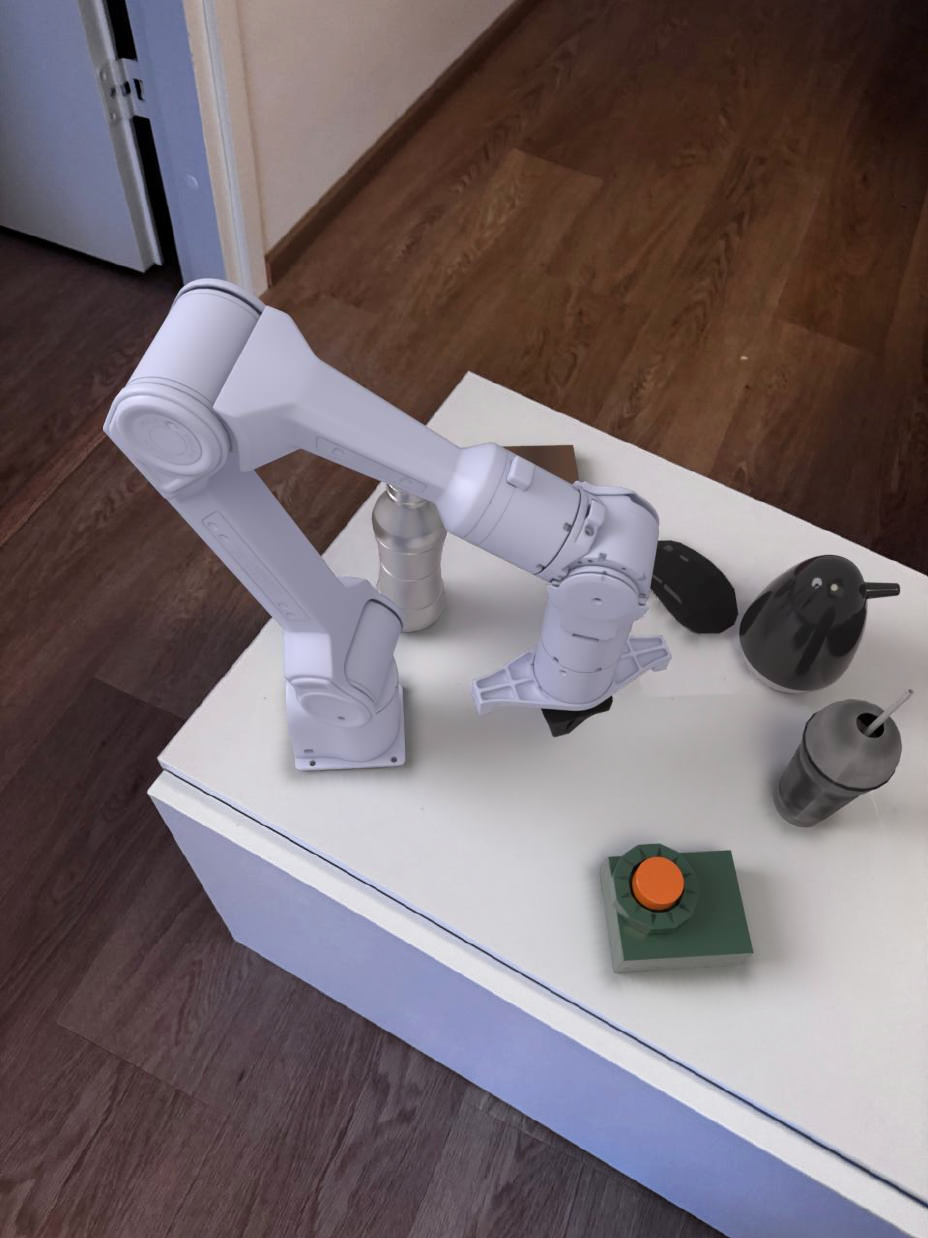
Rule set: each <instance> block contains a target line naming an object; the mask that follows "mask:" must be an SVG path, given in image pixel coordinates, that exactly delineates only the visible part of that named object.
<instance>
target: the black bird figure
mask: <svg viewBox="0 0 928 1238" xmlns="http://www.w3.org/2000/svg"><path fill="white" fill-rule="evenodd" d="M858 567H859V566H857V565H856V564H855V563H854V562H853V561H852V560H850V559H848V558H846V557H845V556H841V555H838V554H821V555H820V554H819V555H816V556H812V557H809V558H807V559H804V560H802V561H800V562H798V563H796V564H794V565H793V566H791V567H790V568H787V569H786V570H785V571H783V572H782V573H781V574H779V575H778V576H776V577H775V578H774V579H773V580H771V581H770V582H769V583H768V584H767V585H766V586H765V587H763V589H762V590H761V591H760V592H759V593H758V594H757V595H756V597H755V598H754V599H753V600H752V601H751V602H750V604H749V605H748V607H747V608H746V610H745V612H744V614H743V615H742V618H741V620H740V624H739V629H738V639H739V644H740V649H741V655H742V657H743V661H744V662H745V664H746V666H747V668H748V670H750V673H752V674H753V676H755V678H756V679H757V680H759V682H761V683H763V684H764V685H766V687H769V688H770V689H773V690H776V691H779V692H782V693H786V694H805V693H806V694H807V693H811V692H814V691H818V690H822V689H825V688H827V687H830V686H832V685H834V684H835V683H837V681H839V680H840V679H841V678H842V677H843V676H844V674H845V673H846V672H847V671H848V669H849V667H850V666H851V664H852V663H853V661H854V660H855V659H854V658H855V657H856V654H857V653H858V650H859V648H860V645H861V643H862V640H863V637H864V633H865V631H866V625H867V619H868V612H869V611H868V610H869V601H868V600H871V599H882V598H889V597H891V598H892V597H897V596H899V595H900V594H901V585H900V584H899V583H898V582H878V581H876V582H875V581H865V578H864V576H863V574H862V572H861V570H860V569H859V568H858Z"/></svg>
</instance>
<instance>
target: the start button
mask: <svg viewBox="0 0 928 1238" xmlns="http://www.w3.org/2000/svg"><path fill="white" fill-rule="evenodd" d="M632 888H633V892H634V895H635V897H636V898H637V900H638V901H639V902H640V903H641V904H642V905H644V906H645V907H647V908H649V909H653V910H664V909H667V908H669V907H670V906H672V905H673V904H674V903H675V902H676V900H677V899H678V898H679V897H680V895H681V893H682V891H683V888H684V879H683V875H682V873H681V871H680V869H679V868H678V867H677V866H676V865H675V864H674V863H673V862H672V861H670V860H668V859H666V858H663V857H652V858H649V859H647V860H645V861H644V862H642V863H641V865H640V866H639V868H638V869H637V871H636V872H635V874H634V876H633V880H632Z"/></svg>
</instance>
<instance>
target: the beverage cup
mask: <svg viewBox="0 0 928 1238" xmlns="http://www.w3.org/2000/svg"><path fill="white" fill-rule="evenodd" d="M914 694H915V690H914V689H913V688H911V687H910V688H909V687H908V688H907V690H906V691H905V692H903V693H902V694H901V695H900V696H899V697H897V699H896V700H895V701H894V702H893V703H892V704H891V705H890V706H889V707H887V708H886V709H885V710H884V709H883V708H881V707H880V706H878V705H877V704H874V703H872V702H869V701H866V700H861V699H855V698H854V699H853V698H849V699H842V700H837V701H833V702H832V703H830V704H828V705H826V706H824V707H823V708H821V709H819V710H817V711H815V712H814V713H812V715H811V716H810V717H809V719H808V720H806V722H805V725H804V729H803V731H802V737H801V740H800V743H799V745H798V747H797V749H796V750H795V752H794V754H793V756H792V757H791V758H790V761H789V763H788V764H787V766H786V768H785V770H784V771H783V773H782V775H781V777H780V779H779V780H778V784H777V785H776V788H775V790H774V793H773V804H774V807H775V810H776V811H777V813H778V814H779V816H780V817H781V819H783V820H785V821H786V822H787V823H788V824H790V825H792V826H795V827H798V828H809V827H810V828H811V827H814V826H816V825H817V824H819V823H821V822H823V821H825V820H826V819H828V818H829V817H831V816H832V815H834V814H835V813H837V812H838V811H840V810H841V809H843V808H844V807H845V806H847V805H848V804H850V803H851V802H853V801H855V800H856V799H857V798H858V797H860V796H863V795H865V794H867V793H869V792H870V793H871V792H872V791H876V790H878V789H880V788H881V787H883V786H884V785H887V783H889V781H890V780H891V779H892V778H893V776H894V775H895V773H896V769H897V768H898V766H899V763H900V761H901V756H902V751H903V742H902V736H901V732H900V730H899V727H898V726H897V723H896V721H895V720H894V719H893V718H892V717H891V716H892V715H893V714H894V713H895V712H896V711H897V710H899V708H900V707H902V705H903V704H905V703H906V702H907V701H908V700H909V699H910V698H911V697H912V696H913V695H914Z"/></svg>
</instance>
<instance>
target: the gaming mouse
mask: <svg viewBox="0 0 928 1238" xmlns="http://www.w3.org/2000/svg"><path fill="white" fill-rule="evenodd" d="M650 591H652V592H653V593H654V595H655V596H656V597H657V599H659V600H660V602H661V603H662V604H663V606H664V607H665V609H667V611H668V612H669V614H670V615H671V616H672V617H673V618H674V619H675V620H676V621H677V623H679V624H681V625H682V626H683V627H685V628H686V629H687V630H689V631H690V632H692V633H695V634H699V635H703V634H704V635H720V634H721V633H723V632H725V631H727V630H729V629H730V628H732V627H733V626H735V624H736V622H737V619H738V617H739V608H738V607H739V606H738V601H737V594H736V589H735V588H734V586H733V584H732V583H731V582H730V580H729V578H728V577H727V576H726V575H725V573H724V572H723V571H722V570H721V569H720V568H718V566H716V565H715V563H713V562H712V561H711V560H710V559H709V558H707V557H706V556H704V555H703V554H701V553H700V552H698V551H697V550H695V549H694V548H692V547H690V546H688V545H686V544H684V543H682V542H680V541H675V540H671V539H667V540H662V539H661V540H658V543H657V549H656V555H655V561H654V567H653V573H652V579H651V585H650Z"/></svg>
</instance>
